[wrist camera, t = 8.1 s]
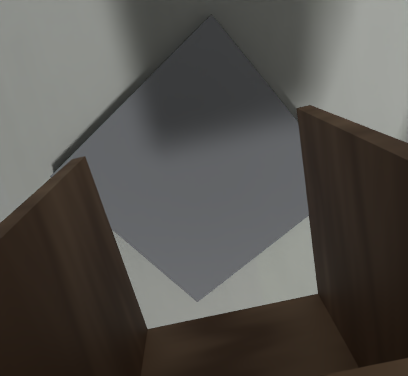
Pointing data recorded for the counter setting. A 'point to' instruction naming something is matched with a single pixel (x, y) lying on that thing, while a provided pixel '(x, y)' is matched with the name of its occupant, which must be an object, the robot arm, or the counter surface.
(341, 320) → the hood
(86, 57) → the counter surface
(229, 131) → the mat
